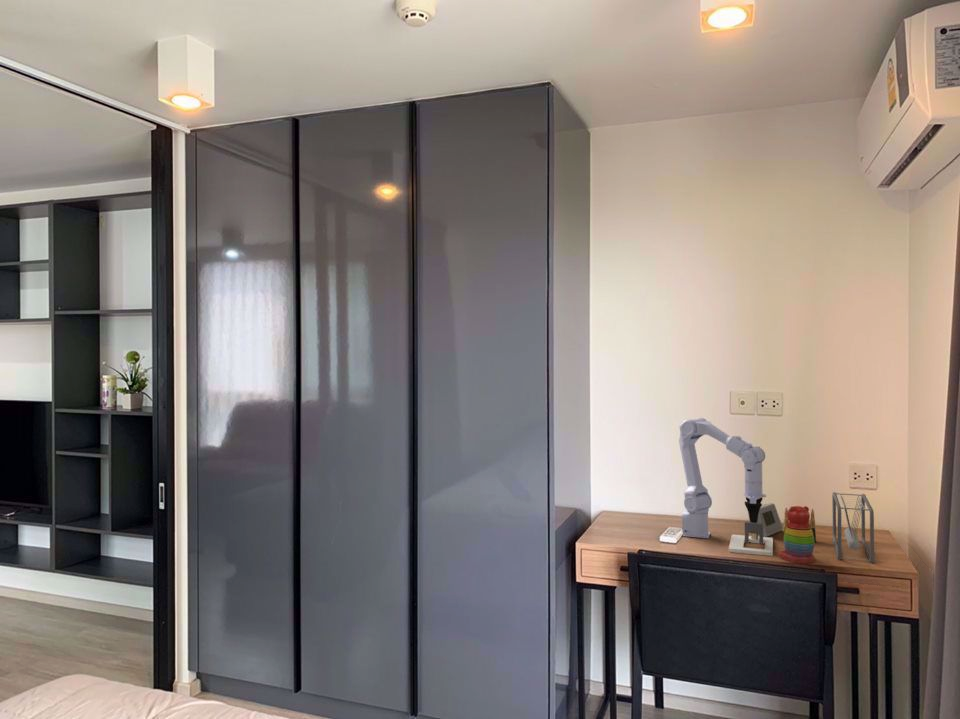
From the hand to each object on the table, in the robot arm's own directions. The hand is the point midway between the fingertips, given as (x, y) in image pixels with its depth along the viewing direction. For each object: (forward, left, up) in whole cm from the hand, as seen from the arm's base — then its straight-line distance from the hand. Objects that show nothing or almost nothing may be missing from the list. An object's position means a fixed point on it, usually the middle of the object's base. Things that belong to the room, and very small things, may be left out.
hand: (753, 520), depth 244 cm
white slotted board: (-1, +2, -10) cm, 10 cm away
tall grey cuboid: (0, 0, -8) cm, 8 cm away
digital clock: (+4, +22, -10) cm, 25 cm away
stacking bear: (+14, -9, -10) cm, 19 cm away
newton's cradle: (+31, +8, -10) cm, 34 cm away
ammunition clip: (+15, +16, -10) cm, 24 cm away
